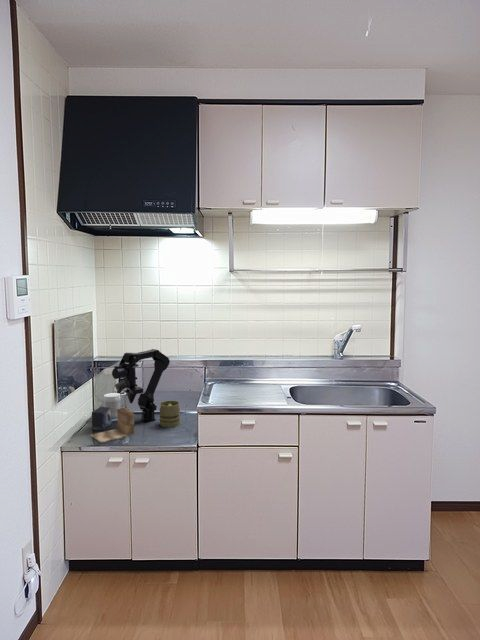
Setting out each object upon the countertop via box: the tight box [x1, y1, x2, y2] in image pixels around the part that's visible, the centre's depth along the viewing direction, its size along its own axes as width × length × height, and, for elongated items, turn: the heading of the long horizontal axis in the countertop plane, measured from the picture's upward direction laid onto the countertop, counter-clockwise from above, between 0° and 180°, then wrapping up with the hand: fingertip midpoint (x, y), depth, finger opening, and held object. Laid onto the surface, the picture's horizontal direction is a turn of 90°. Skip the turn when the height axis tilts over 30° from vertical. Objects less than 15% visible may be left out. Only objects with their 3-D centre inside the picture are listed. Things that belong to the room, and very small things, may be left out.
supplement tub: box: [103, 392, 122, 422], centre depth 275 cm, size 10×10×15 cm
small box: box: [91, 406, 112, 432], centre depth 260 cm, size 11×6×10 cm, turn 168°
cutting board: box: [90, 428, 127, 444], centre depth 247 cm, size 14×13×1 cm
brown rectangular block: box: [117, 407, 135, 436], centre depth 253 cm, size 5×9×12 cm, turn 40°
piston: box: [159, 400, 181, 428], centre depth 266 cm, size 11×12×11 cm
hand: (131, 403), depth 262 cm, fingers closed
